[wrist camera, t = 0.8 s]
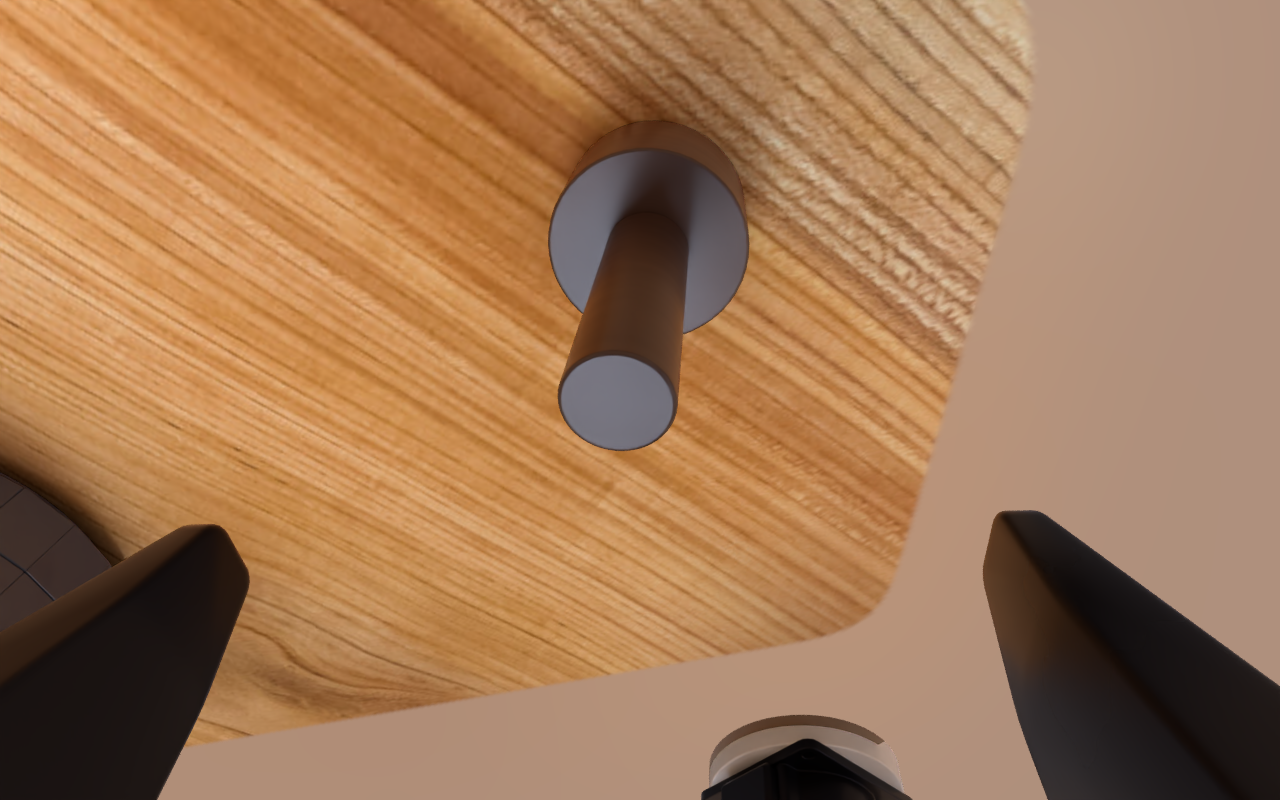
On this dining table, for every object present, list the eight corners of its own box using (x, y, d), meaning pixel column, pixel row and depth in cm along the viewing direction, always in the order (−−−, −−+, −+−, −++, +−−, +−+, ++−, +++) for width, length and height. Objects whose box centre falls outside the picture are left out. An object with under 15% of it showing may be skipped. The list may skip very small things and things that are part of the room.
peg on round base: (783, 204, 17) (831, 397, 10) (665, 325, 19) (637, 554, 12) (643, 77, 16) (588, 197, 9) (532, 222, 18) (417, 411, 11)
